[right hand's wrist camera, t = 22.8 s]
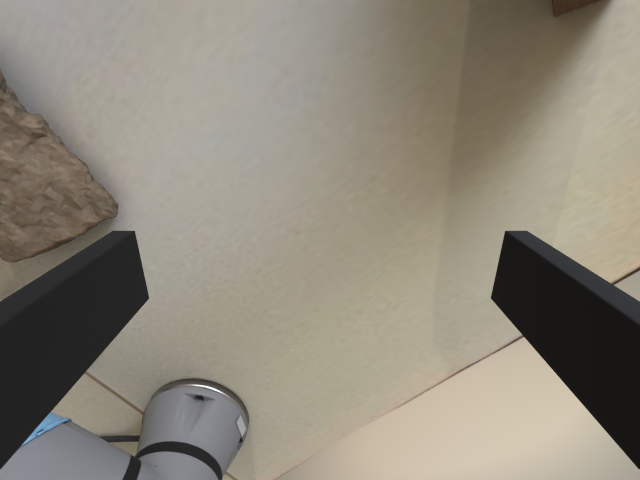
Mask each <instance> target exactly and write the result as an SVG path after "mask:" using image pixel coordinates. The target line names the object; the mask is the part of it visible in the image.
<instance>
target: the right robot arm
mask: <svg viewBox="0 0 640 480" xmlns="http://www.w3.org/2000/svg"><path fill="white" fill-rule="evenodd" d="M148 299H149V296H148V291H147V286H146V281H145V277H144V272H143V267H142V263H141V258H140V253H139V249H138V244H137V239H136V235H135V231H112V232H111V233H109V234H107V235H106V236H104V237H103V238H101V239H99V240H98V241H96V242H95V243H93V244H91V245H90V246H88V247H87V248H85V249H84V250H82V251H80V252H79V253H77V254H76V255H74V256H72V257H71V258H69V259H68V260H66V261H64V262H63V263H61V264H60V265H58V266H56V267H55V268H53V269H52V270H50V271H48V272H47V273H45V274H44V275H42V276H41V277H39V278H37V279H36V280H34V281H33V282H31V283H29V284H28V285H26V286H25V287H23V288H21V289H20V290H18V291H17V292H15V293H13V294H12V295H10V296H9V297H7V298H5V299H4V300H2V301H1V302H0V480H222V478H223V475H224V474H225V472H226V471H227V469H228V467H229V466H230V464H231V462H232V461H233V459H234V457H235V456H236V454H237V452H238V451H239V449H240V448H241V446H242V444H243V442H244V440H245V437H246V434H247V429H248V424H249V416H248V412H247V409H246V407H245V405H244V404H243V402H242V401H241V400H240V398H239V397H238V396H237V395H236V394H234V393H233V392H232V391H230V390H229V389H227V388H226V387H224V386H222V385H220V384H217V383H214V382H211V381H207V380H202V379H183V380H177V381H174V382H171V383H168V384H166V385H164V386H163V387H161V388H160V389H159V390H157V391H156V392H155V394H154V395H153V396H152V398H151V400H150V401H149V403H148V405H147V407H146V409H145V412H144V415H143V420H142V429H141V433H140V436H108V437H98V436H96V435H94V434H93V433H91V432H89V431H87V430H86V429H84V428H82V427H80V426H79V425H77V424H75V423H73V422H72V421H71V419H70V418H63V417H61V416H58V415H56V414H54V413H52V412H51V411H52V410H53V409H54V407H55V406H56V405H57V404H58V403H59V402H60V400H61V399H62V398H63V397H64V396H65V395H66V394H67V392H68V391H69V390H70V389H71V388H72V387H73V385H74V384H75V383H76V382H77V381H78V380H79V379H80V377H81V376H82V375H83V374H84V373H85V372H86V370H87V369H88V368H89V367H90V366H91V365H92V364H93V362H94V361H95V360H96V359H97V358H98V357H99V355H100V354H101V353H102V352H103V351H104V350H105V349H106V347H107V346H108V345H109V344H110V343H111V342H112V340H113V339H114V338H115V337H116V336H117V335H118V334H119V332H120V331H121V330H122V329H123V328H124V327H125V325H126V324H127V323H128V322H129V321H130V320H131V319H132V317H133V316H134V315H135V314H136V313H137V312H138V310H139V309H140V308H141V307H142V306H143V305H144V304H145V302H146V301H147V300H148ZM491 299H492V300H493V301H494V302H495V304H496V305H497V306H498V307H499V308H500V309H501V310H502V312H503V313H504V314H505V315H506V316H507V317H508V319H509V320H510V321H511V322H512V323H513V324H514V325H515V327H516V328H517V329H518V330H519V331H520V332H521V334H522V335H523V336H524V337H525V338H526V339H527V340H528V342H529V343H530V344H531V345H532V346H533V347H534V349H535V350H536V351H537V352H538V353H539V354H540V355H541V357H542V358H543V359H544V360H545V361H546V362H547V364H548V365H549V366H550V367H551V368H552V369H553V370H554V372H555V373H556V374H557V375H558V376H559V377H560V378H561V380H562V381H563V382H564V383H565V384H566V385H567V387H568V388H569V389H570V390H571V391H572V392H573V394H574V395H575V396H576V397H577V398H578V399H579V400H580V402H581V403H582V404H583V405H584V406H585V407H586V409H587V410H588V411H589V412H590V413H591V414H592V415H593V417H594V418H595V419H596V420H597V421H598V422H599V424H600V425H601V426H602V427H603V428H604V429H605V430H606V432H607V433H608V434H609V435H610V436H611V437H612V439H613V440H614V441H615V442H616V443H617V444H618V445H619V447H620V448H621V449H622V450H623V451H624V452H625V454H626V455H627V456H628V457H629V458H630V459H631V460H632V462H633V463H634V464H635V465H636V466H637V467H638V469H640V302H639V301H638V300H636V299H635V298H633V297H631V296H630V295H628V294H627V293H625V292H623V291H622V290H620V289H619V288H617V287H615V286H614V285H612V284H611V283H609V282H607V281H606V280H604V279H603V278H601V277H599V276H598V275H596V274H595V273H593V272H592V271H590V270H588V269H587V268H585V267H584V266H582V265H580V264H579V263H577V262H576V261H574V260H572V259H571V258H569V257H568V256H566V255H564V254H563V253H561V252H560V251H558V250H556V249H555V248H553V247H552V246H550V245H549V244H547V243H545V242H544V241H542V240H541V239H539V238H537V237H536V236H534V235H533V234H531V233H529V232H528V231H505V235H504V239H503V244H502V249H501V253H500V258H499V263H498V267H497V272H496V277H495V281H494V286H493V291H492V295H491ZM109 442H139V443H138V449H137V454H136V456H135V457H134V456H132V455H130V454H129V453H127V452H125V451H123V450H121V449H120V448H118V447H116V446H114V445H112V444H110V443H109Z"/></svg>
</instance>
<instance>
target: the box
mask: <svg viewBox="0 0 640 480" xmlns="http://www.w3.org/2000/svg"><path fill="white" fill-rule="evenodd" d="M598 1H601V0H553V8H554V16H555V17H556V16H559V15H562V14H565V13H567V12H570V11H573V10H576V9H579V8H581V7H584V6H587V5H590V4H592V3H595V2H598Z"/></svg>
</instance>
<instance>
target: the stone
mask: <svg viewBox="0 0 640 480" xmlns="http://www.w3.org/2000/svg"><path fill="white" fill-rule="evenodd" d="M117 214H118V204H117V203H116V202H115V201H114V199H113V198H112V196H111V195H110V193H109V192H108V191H107V190H106V189H104V188H103V187H102V186H101V185H100V184H99V183H98V182H96V181H95V180H94V178H93V176H92V175H91V173H90V172H89V170H88V166H87V165H86V164H85V163H84V162H82V161H81V160H80V159H78V158H77V157H76V155H74V154H72V153H70V152H69V151H68V150H67V149H66V148H65V146H64V145H63V143H62V141H61V139H60V138H59V137H58V136H57V135H55V133H54V132H53V131H52V130H51V129H50V128H49V125H48V123H47V122H46V121H45V120H44V119H43V117H42V116H40V115H31V114H29V113H27V111H26V109H25V107H24V106H23V105H22V104H20V103H19V102H18V99H17V97H16V95H15V93H14V91H13V90H12V89H11V88H9V87H7V85H6V80H5V78H4V77H3V75H2V72H1V70H0V257H1V258H2V259H3V260H4V261H7V262H17V261H20V260H23V259H26V258H31V257H34V256H36V255H39V254H42V253H44V252H47V251H49V250H51V249H54V248H57V247H59V246H61V245H63V244H65V243H68V242H70V241H71V240H73V239H75V238H76V237H77V236H80V235H84V234H85V233H86V232H87V231H88V230H89V229H91V228H93V227H95V226H97V225H98V224H99V223H100V222H102V221H103V220H105V219H106V218H114V217H116V216H117Z"/></svg>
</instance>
